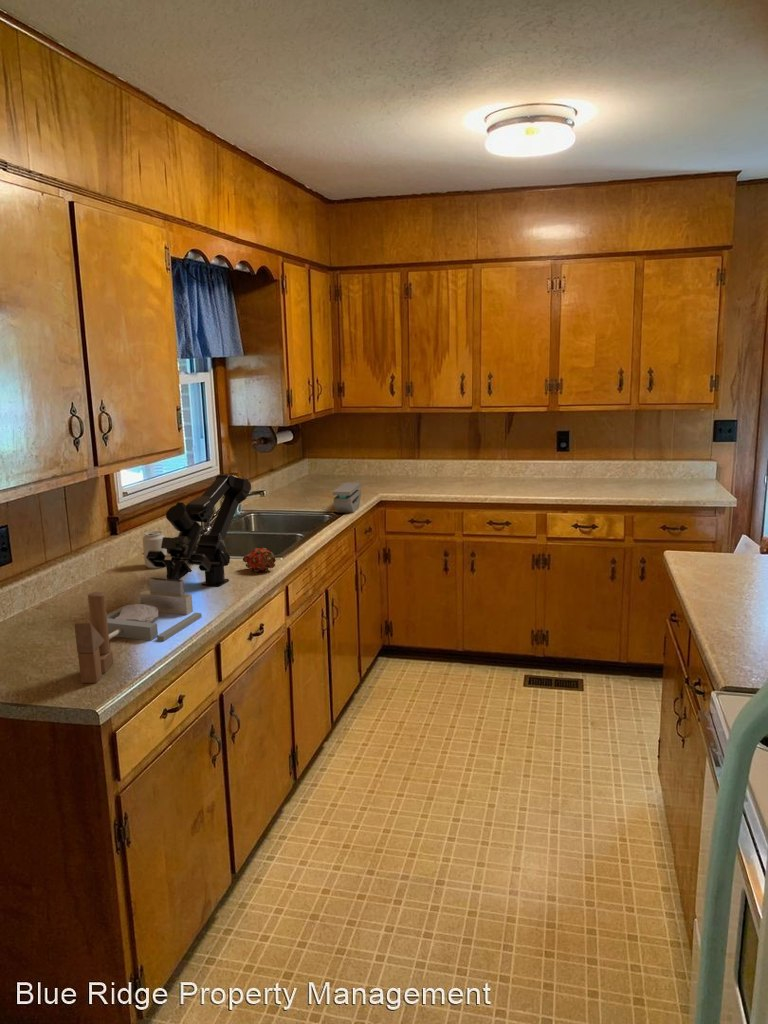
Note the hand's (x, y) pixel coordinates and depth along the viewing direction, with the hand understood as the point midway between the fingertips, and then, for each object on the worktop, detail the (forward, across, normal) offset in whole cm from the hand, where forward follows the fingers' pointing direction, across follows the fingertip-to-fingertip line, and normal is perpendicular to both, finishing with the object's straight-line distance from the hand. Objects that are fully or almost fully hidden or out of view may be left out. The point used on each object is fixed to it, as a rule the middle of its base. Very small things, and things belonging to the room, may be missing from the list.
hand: (168, 586), depth 211 cm
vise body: (+18, 0, -8) cm, 19 cm away
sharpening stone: (-95, +2, +104) cm, 141 cm away
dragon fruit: (-24, +8, +34) cm, 42 cm away
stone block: (+14, -2, -4) cm, 14 cm away
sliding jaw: (+6, 0, +4) cm, 7 cm away
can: (-22, -30, +31) cm, 48 cm away
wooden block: (+35, +9, -25) cm, 44 cm away
